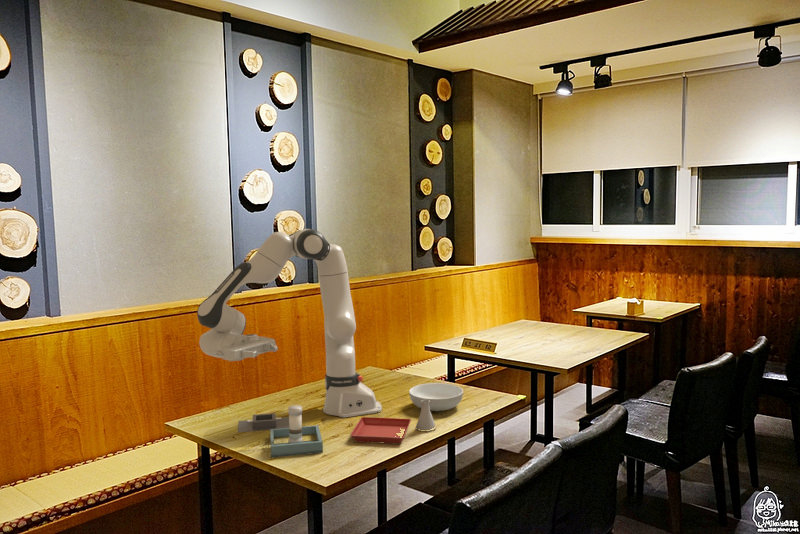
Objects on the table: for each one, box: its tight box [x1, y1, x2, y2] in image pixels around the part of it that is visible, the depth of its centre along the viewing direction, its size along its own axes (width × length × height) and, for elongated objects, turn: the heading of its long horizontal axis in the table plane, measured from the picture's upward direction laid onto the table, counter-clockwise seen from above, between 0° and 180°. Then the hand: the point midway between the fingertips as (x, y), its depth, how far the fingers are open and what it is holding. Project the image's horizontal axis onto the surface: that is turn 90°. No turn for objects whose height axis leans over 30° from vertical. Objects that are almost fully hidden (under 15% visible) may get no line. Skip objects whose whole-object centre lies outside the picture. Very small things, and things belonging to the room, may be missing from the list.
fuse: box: [287, 404, 304, 444], centre depth 201 cm, size 4×4×12 cm
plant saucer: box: [349, 416, 412, 444], centre depth 210 cm, size 18×18×3 cm
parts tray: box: [269, 424, 324, 459], centre depth 201 cm, size 16×16×4 cm
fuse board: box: [237, 412, 289, 433], centre depth 219 cm, size 18×12×4 cm, turn 102°
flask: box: [415, 400, 436, 430], centre depth 215 cm, size 7×7×10 cm
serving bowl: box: [408, 382, 464, 412], centre depth 239 cm, size 21×21×7 cm
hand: (266, 351), depth 205 cm, fingers open, 8 cm apart
